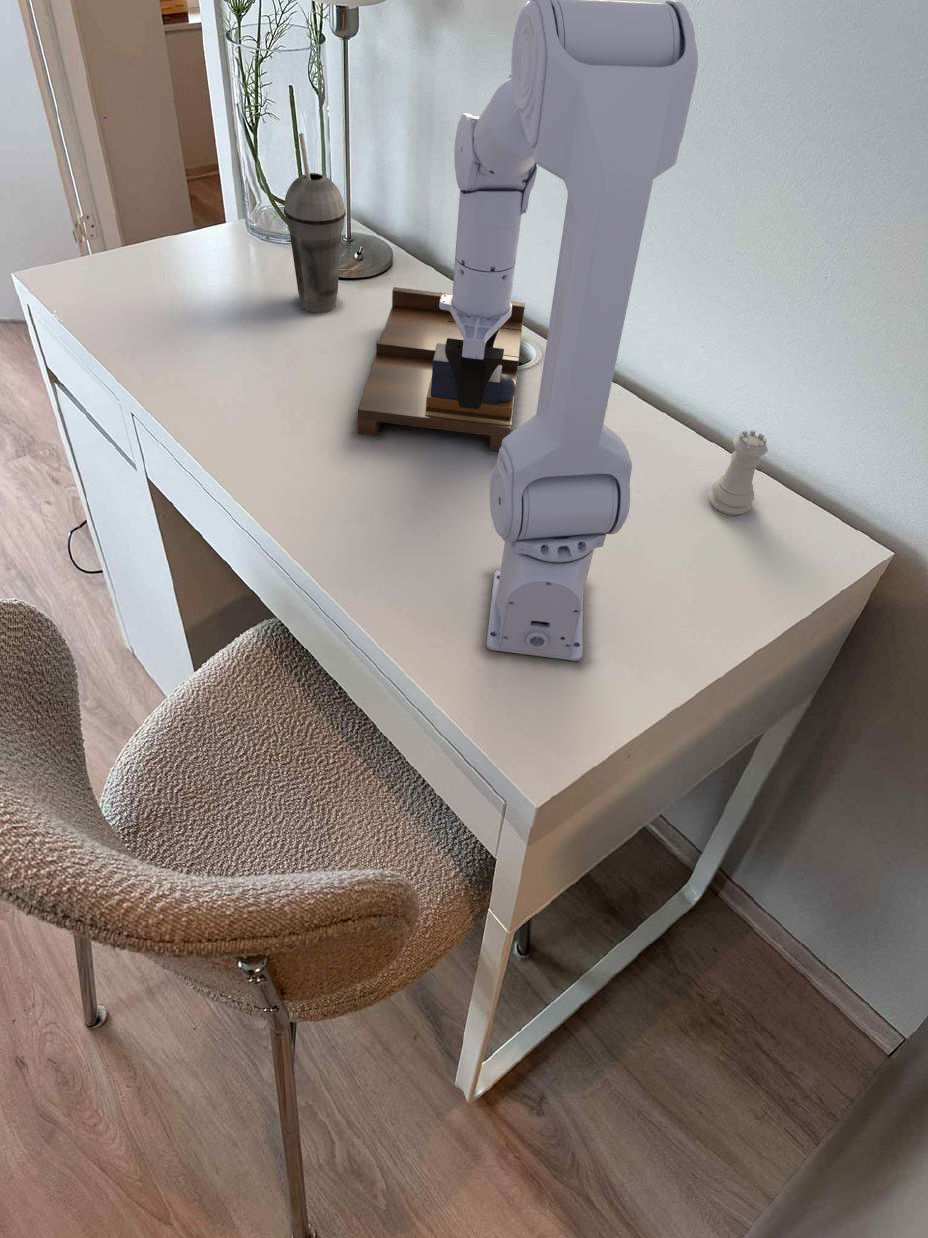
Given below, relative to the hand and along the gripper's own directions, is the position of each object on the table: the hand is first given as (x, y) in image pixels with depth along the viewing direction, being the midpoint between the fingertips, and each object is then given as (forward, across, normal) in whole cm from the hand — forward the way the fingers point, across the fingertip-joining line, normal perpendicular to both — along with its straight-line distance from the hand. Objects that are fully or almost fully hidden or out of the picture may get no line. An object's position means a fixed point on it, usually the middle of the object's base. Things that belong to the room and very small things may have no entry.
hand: (472, 386), depth 93 cm
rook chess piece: (+5, +8, +28) cm, 29 cm away
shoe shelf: (+5, -8, -4) cm, 10 cm away
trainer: (+2, 0, 0) cm, 2 cm away
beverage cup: (+5, -23, -22) cm, 32 cm away
